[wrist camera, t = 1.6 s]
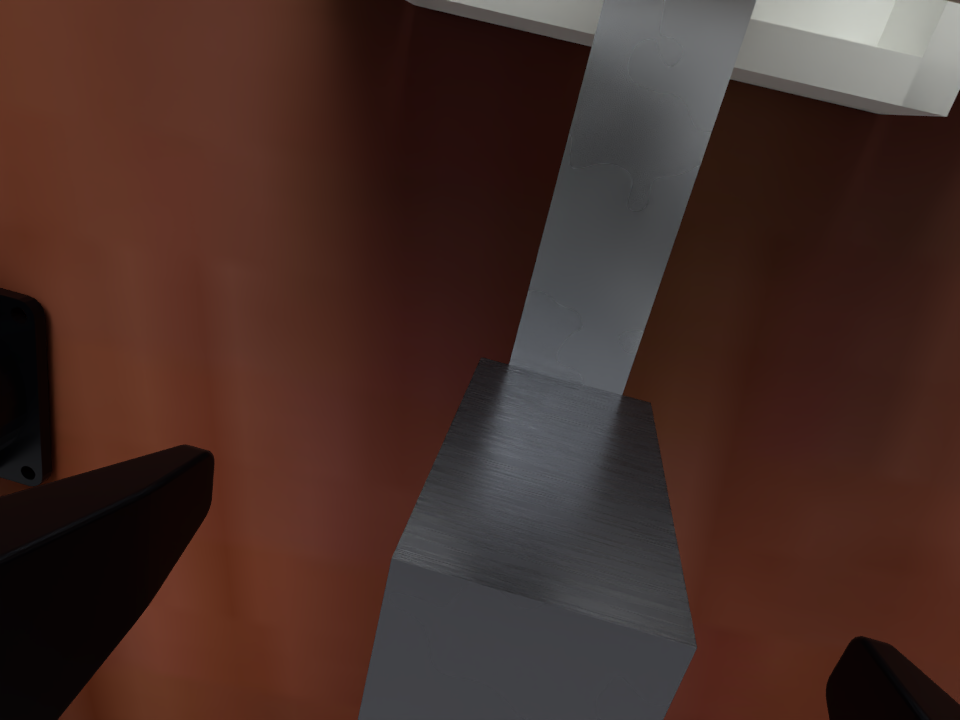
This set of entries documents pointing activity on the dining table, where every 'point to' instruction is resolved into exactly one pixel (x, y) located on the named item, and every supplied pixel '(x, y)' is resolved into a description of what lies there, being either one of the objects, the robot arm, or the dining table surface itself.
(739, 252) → the dining table surface
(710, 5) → the grey l-shaped block
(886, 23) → the tray
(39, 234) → the dining table surface
